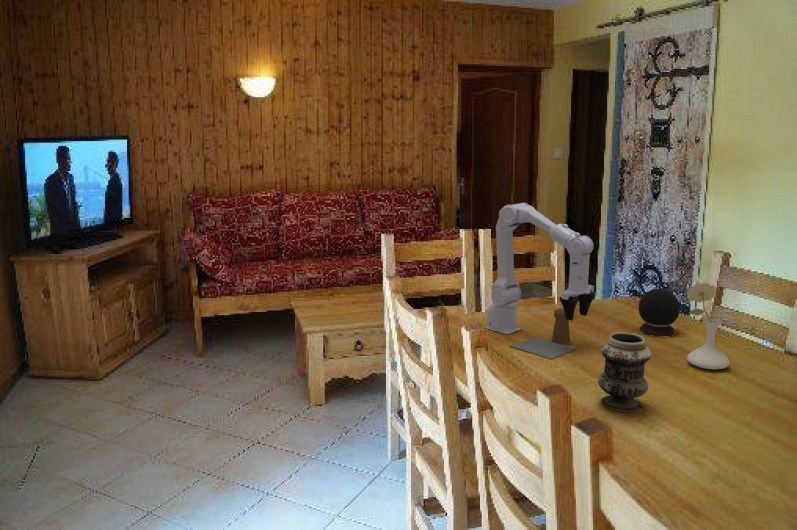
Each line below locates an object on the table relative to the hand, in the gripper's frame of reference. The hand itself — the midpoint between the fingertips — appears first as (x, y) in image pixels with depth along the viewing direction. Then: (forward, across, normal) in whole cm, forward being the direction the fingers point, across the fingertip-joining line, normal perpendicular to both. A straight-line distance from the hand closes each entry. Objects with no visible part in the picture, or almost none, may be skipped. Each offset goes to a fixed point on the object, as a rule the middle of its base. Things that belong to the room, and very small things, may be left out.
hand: (576, 317), depth 206 cm
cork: (+10, +2, +7) cm, 12 cm away
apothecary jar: (+10, -28, -33) cm, 44 cm away
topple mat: (+10, -8, +6) cm, 14 cm away
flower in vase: (+10, +15, -34) cm, 39 cm away
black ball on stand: (+10, +35, -9) cm, 38 cm away
